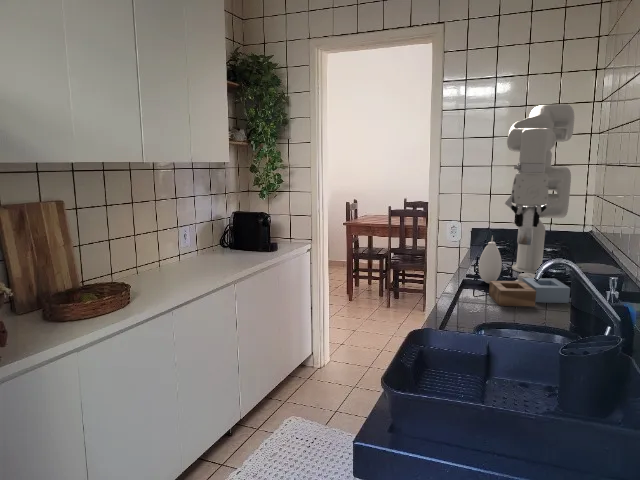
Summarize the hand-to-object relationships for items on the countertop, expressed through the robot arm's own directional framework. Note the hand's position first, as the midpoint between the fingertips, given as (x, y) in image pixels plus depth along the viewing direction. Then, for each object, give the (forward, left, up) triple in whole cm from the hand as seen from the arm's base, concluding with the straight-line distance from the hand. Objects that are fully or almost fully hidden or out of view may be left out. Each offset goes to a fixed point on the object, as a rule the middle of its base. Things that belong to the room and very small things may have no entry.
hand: (526, 225), depth 149 cm
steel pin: (0, 0, -6) cm, 6 cm away
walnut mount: (+1, -3, -25) cm, 25 cm away
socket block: (-3, +9, -25) cm, 27 cm away
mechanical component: (-15, +9, -25) cm, 31 cm away
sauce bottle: (-19, -4, -25) cm, 32 cm away
